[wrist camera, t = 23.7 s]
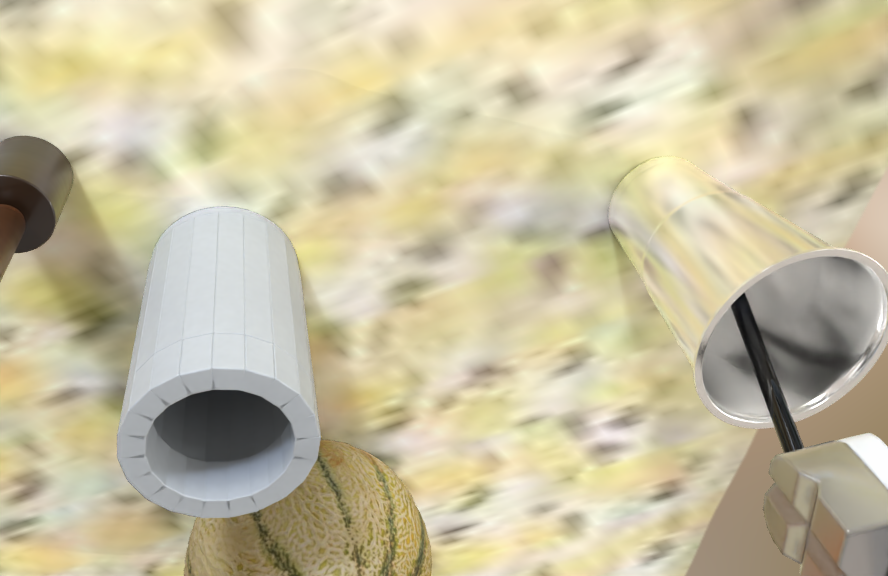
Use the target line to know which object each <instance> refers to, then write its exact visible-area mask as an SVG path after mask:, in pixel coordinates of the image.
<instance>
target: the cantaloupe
mask: <svg viewBox="0 0 888 576" xmlns="http://www.w3.org/2000/svg"><path fill="white" fill-rule="evenodd" d="M431 569H432V560H431V546H430V542H429V538H428V535H427V531H426V527H425V523H424V521H423V519H422V517H421V514H420V512H419V511H418V509H417V507H416V505H415V503H414V500H413V498H412V495H411V494H410V492H409V491H408V489H407V488H406V486H405V485H404V483H403V482H402V480H401V479H400V478H399V477H398V476H397V475H396V474H395V473H394V472H393V471H392V470H391V469H390V468H389V467H388V466H387V465H385V464H384V463H383V462H382V461H380V460H379V459H378V458H376V457H374V456H373V455H371V454H369V453H367V452H365V451H363V450H361V449H358V448H355V447H353V446H351V445H349V444H347V443H343V442H337V441H331V440H320V446H319V452H318V458H317V460H316V462H315V464H314V465H313V467H312V469H311V470H310V472H309V474H308V476H307V477H306V479H305V480H304V481H303V482H302V483H301V484H300V485H299V486H298V487H297V488H296V489H295V490H293V491H292V492H291V493H290V494H289V495H288V496H287V497H284V498H283V499H282V500H280V501H278V502H276V503H274V504H272V505H269V506H267V507H265V508H263V509H261V510H259V511H257V512H253V513H248V514H244V515H240V516H236V517H230V518H200V517H196V520H195V522H194V526H193V530H192V533H191V535H190V539H189V542H188V548H187V552H186V558H185V568H184V576H431Z"/></svg>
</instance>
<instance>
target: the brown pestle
mask: <svg viewBox="0 0 888 576" xmlns="http://www.w3.org/2000/svg"><path fill="white" fill-rule="evenodd" d="M72 184H73V172H72V168H71V165H70V163H69V161H68V160H67V158H66V157H65V155H64V154H63V153H62V152H61V151H60V150H59V149H58V148H57V147H55V146H54V145H52V144H51V143H49V142H47V141H45V140H42V139H39V138H36V137H30V136H17V137H12V138H9V139H6V140H4V141H2V142H0V282H1V279H2V277H3V275H4V273H5V271H6V269H7V267H8V265H9V263H10V261H11V259H12V257H13V254H14V253H23V252H28V251H31V250H34V249H36V248H38V247H40V246H41V245H43V244H44V243H45V242H46V241H47V240H48V239H49V238H50V237H51V235H52V233H53V231H54V229H55V227H56V224H57V222H58V219H59V217H60V215H61V212H62V210H63V207H64V205H65V202H66V200H67V198H68V195H69V193H70V190H71V188H72Z"/></svg>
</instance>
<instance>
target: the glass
mask: <svg viewBox="0 0 888 576" xmlns="http://www.w3.org/2000/svg"><path fill="white" fill-rule="evenodd" d="M608 219H609V225H610V228H611V231H612V233H613V234H614V236H615V237H616V239H617V240H618V241H619V243H620V245H621V246H622V248H623V249H624V251H625V253H626V254H627V256H628V258H629V259H630V261H631V262H632V264H633V266H634V267H635V269H636V271H637V272H638V274H639V276H640V277H641V279H642V280H643V282H644V284H645V287H646V289H647V292H648V293H649V295H650V297H651V299H652V300H653V302H654V304H655V305H656V307H657V309H658V310H659V312H660V314H661V315H662V317H663V319H664V321H665V322H666V324H667V326H668V327H669V329H670V331H671V332H672V334H673V336H674V337H675V339H676V341H677V343H678V344H679V346H680V348H681V349H682V351H683V353H684V354H685V356H686V358H687V360H688V361H689V363H690V365H691V366H692V368H693V377H694V384H695V388H696V391H697V393H698V395H699V397H700V399H701V401H702V402H703V404H704V405H705V406H706V408H707V409H708V410H709V411H710V412H711V413H712V414H713V415H714V416H716V417H717V418H719V419H720V420H722V421H724V422H726V423H729V424H731V425H734V426H738V427H743V428H753V429H762V428H772V427H775V430H776V433H777V436H778V438H779V441H780V444H781V447H782V449H783V452H784V453H786V452H790V451H794V450H798V449H802V448H804V446H803V443H802V441H801V438H800V436H799V433H798V430H797V427H796V425H795V422H797V421H800V420H802V419H805V418H807V417H809V416H811V415H814V414H816V413H818V412H819V411H821V410H823V409H825V408H827V407H828V406H830V405H831V404H833V403H834V402H836V401H837V400H839V399H840V398H841V397H843V396H844V395H845V394H847V393H848V392H849V391H850V390H851V389H852V388H853V387H855V386H856V385H857V384H858V382H860V381H861V380H862V379H863V377H864V376H865V375H866V374H867V373H868V372H869V371H870V369H871V368H872V367H873V366H874V364H875V363H876V361H877V360H878V358H879V357H880V355H881V354H882V352H883V350H884V348H885V346H886V344H887V342H888V274H887V272H886V271H885V269H884V268H883V267H882V266H881V265H880V264H879V263H877V262H876V261H875V260H873V259H872V258H870V257H869V256H867V255H865V254H863V253H861V252H858V251H855V250H851V249H847V248H838V247H833V246H831V245H830V244H828V243H826V242H824V241H823V240H821V239H819V238H818V237H816V236H814V235H813V234H811V233H809V232H808V231H806V230H804V229H802V228H801V227H799V226H797V225H796V224H794V223H792V222H791V221H789V220H787V219H786V218H784V217H782V216H780V215H779V214H777V213H775V212H774V211H772V210H770V209H769V208H767V207H765V206H764V205H762V204H760V203H759V202H757V201H755V200H754V199H752V198H750V197H748V196H745V195H742V194H740V193H739V192H737V191H735V190H734V189H732V188H730V187H729V186H727V185H726V184H724V183H722V182H721V181H719V180H717V179H716V178H714V177H713V176H711V175H709V174H708V173H706V172H704V171H703V170H701V169H700V168H698V167H696V166H695V165H694V164H693V163H691V162H689V161H688V160H685V159H683V158H679V157H673V156H665V157H658V158H654V159H651V160H648V161H646V162H644V163H642V164H640V165H639V166H637V167H635V168H634V169H633V170H631V171H630V172H629V173H628V174H627V175H626V176H625V177H624V178H623V179H622V180H621V182H620V183H619V185H618V186H617V188H616V189H615V191H614V193H613V195H612V198H611V201H610V205H609V211H608Z"/></svg>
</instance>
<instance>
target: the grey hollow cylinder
mask: <svg viewBox="0 0 888 576" xmlns="http://www.w3.org/2000/svg"><path fill="white" fill-rule="evenodd" d="M320 440H321V433H320V426H319V418H318V410H317V402H316V393H315V385H314V378H313V370H312V362H311V354H310V346H309V338H308V330H307V322H306V314H305V306H304V299H303V291H302V283H301V275H300V270H299V265H298V259H297V255H296V252H295V249H294V247H293V245H292V243H291V241H290V240H289V238H288V237H287V235H286V234H285V233H284V232H283V231H282V230H281V229H280V228H279V227H278V226H277V225H276V224H274V223H273V222H272V221H270V220H269V219H267V218H265V217H263V216H261V215H259V214H257V213H255V212H252V211H249V210H245V209H241V208H235V207H212V208H206V209H202V210H198V211H195V212H193V213H190V214H188V215H186V216H184V217H182V218H180V219H179V220H177V221H176V222H175V223H173V224H172V225H171V226H170V227H169V228H168V229H167V230H165V232H164V233H163V234H162V235H161V237H160V238H159V240H158V242H157V243H156V245H155V248H154V250H153V253H152V257H151V260H150V263H149V268H148V273H147V279H146V284H145V289H144V295H143V300H142V305H141V311H140V316H139V321H138V327H137V332H136V337H135V343H134V348H133V353H132V359H131V364H130V370H129V375H128V380H127V386H126V391H125V397H124V402H123V407H122V412H121V418H120V423H119V428H118V434H117V458H118V461H119V463H120V465H121V467H122V470H123V472H124V474H125V476H126V479H127V480H128V482H129V483H130V484H131V485H132V486H133V487H134V488H135V489H136V490H137V491H138V492H139V493H140V494H141V495H142V496H143V497H144V498H147V500H149V501H151V502H153V503H155V504H157V505H159V506H161V507H163V508H165V509H167V510H169V511H172V512H176V513H180V514H185V515H189V516H194V517H200V518H230V517H236V516H240V515H244V514H248V513H253V512H257V511H259V510H261V509H263V508H265V507H267V506H269V505H272V504H274V503H276V502H278V501H280V500H282V499H283V498H284V497H287V496H288V495H289V494H290V493H291V492H292V491H293V490H295V489H296V488H297V487H298V486H299V485H300V484H301V483H302V482H303V481H304V480H305V479H306V477H307V476H308V474H309V472H310V470H311V469H312V467H313V465H314V464H315V462H316V460H317V458H318V452H319V446H320Z"/></svg>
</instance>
